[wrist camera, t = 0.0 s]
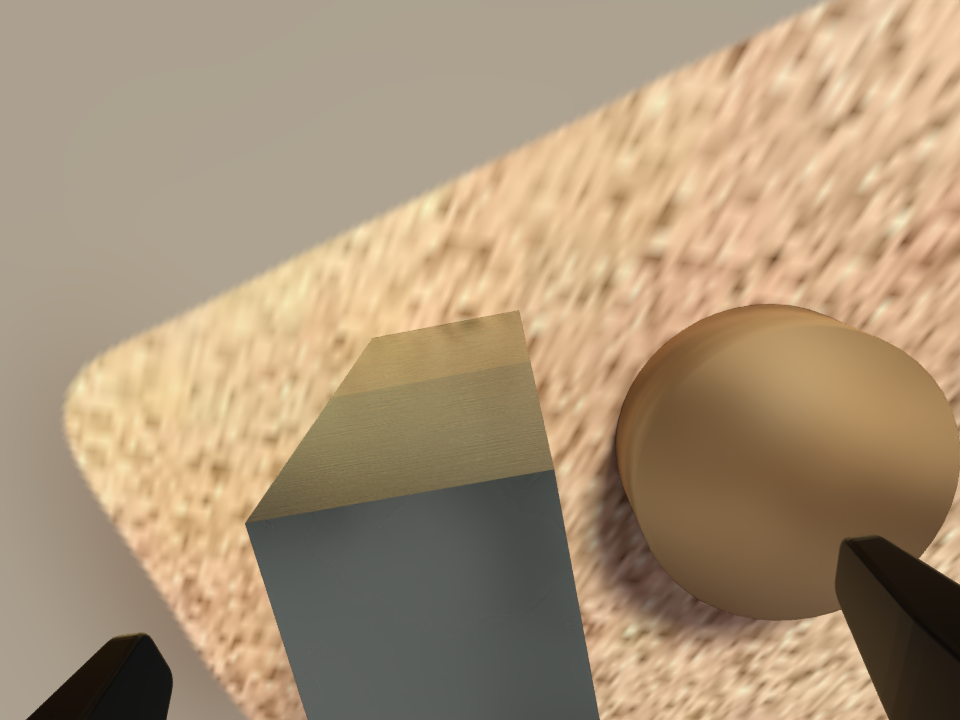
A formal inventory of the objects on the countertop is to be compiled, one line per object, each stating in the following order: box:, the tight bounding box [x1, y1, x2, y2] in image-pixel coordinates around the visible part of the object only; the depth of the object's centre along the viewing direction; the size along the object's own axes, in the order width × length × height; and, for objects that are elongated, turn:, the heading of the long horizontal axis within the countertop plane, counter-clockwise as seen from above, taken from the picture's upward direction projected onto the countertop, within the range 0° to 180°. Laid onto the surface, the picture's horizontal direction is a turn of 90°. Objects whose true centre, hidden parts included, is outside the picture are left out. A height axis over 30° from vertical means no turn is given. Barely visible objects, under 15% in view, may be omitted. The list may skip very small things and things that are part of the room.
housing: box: [245, 310, 600, 720], centre depth 18 cm, size 5×5×13 cm
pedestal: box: [616, 304, 960, 621], centre depth 23 cm, size 10×10×4 cm
